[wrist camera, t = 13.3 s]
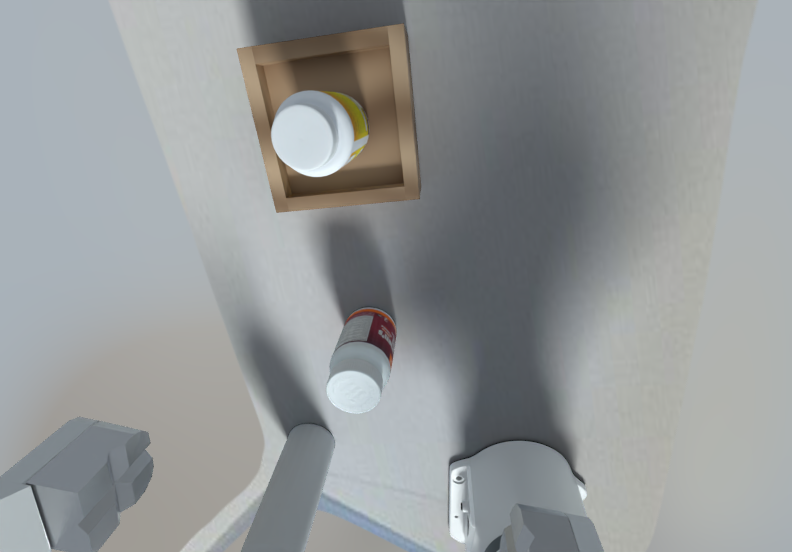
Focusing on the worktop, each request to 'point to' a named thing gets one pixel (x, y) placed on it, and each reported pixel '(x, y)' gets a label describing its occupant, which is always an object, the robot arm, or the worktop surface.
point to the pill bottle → (362, 361)
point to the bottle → (292, 492)
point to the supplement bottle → (319, 131)
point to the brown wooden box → (358, 78)
